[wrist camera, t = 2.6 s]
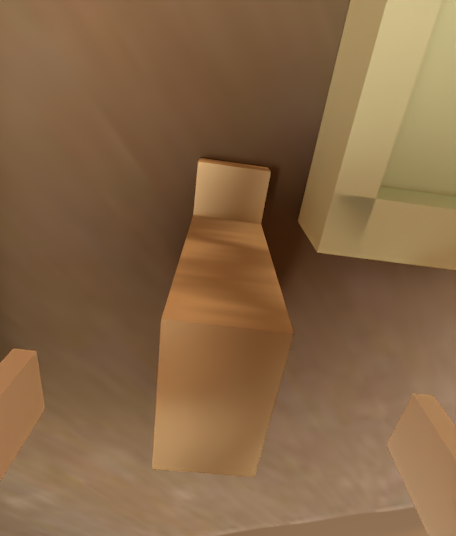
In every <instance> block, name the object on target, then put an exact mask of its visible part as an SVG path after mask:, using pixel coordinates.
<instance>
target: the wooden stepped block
mask: <svg viewBox="0 0 456 536" xmlns="http://www.w3.org/2000/svg"><path fill="white" fill-rule="evenodd" d="M270 174H271V171H270V170H269V169H268V167H261V166H254V165H247V164H240V163H233V162H226V161H219V160H212V159H205V158H200V159H199V161H198V169H197V179H196V190H195V201H194V211H193V217H192V220H191V223H190V227H189V230H188V233H187V236H186V240H185V243H184V246H183V250H182V253H181V256H180V259H179V263H178V266H177V269H176V272H175V276H174V279H173V282H172V285H171V289H170V292H169V295H168V298H167V302H166V305H165V308H164V311H163V315H162V318H161V330H160V347H159V363H158V380H157V397H156V413H155V430H154V447H153V464H152V469H162V470H174V471H186V472H199V473H211V474H223V475H236V476H248V477H255V473H256V469H257V466H258V462H259V459H260V455H261V451H262V448H263V444H264V440H265V437H266V433H267V430H268V426H269V422H270V419H271V415H272V411H273V408H274V404H275V401H276V397H277V393H278V390H279V386H280V383H281V379H282V375H283V372H284V368H285V364H286V361H287V357H288V354H289V350H290V346H291V343H292V339H293V335H294V332H293V328H292V325H291V322H290V319H289V315H288V312H287V309H286V305H285V302H284V299H283V295H282V292H281V289H280V285H279V282H278V279H277V275H276V272H275V269H274V265H273V262H272V259H271V255H270V252H269V249H268V245H267V242H266V239H265V235H264V232H263V229H262V225H261V221H262V216H263V211H264V205H265V200H266V195H267V190H268V184H269V179H270Z"/></svg>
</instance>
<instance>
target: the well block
mask: <svg viewBox="0 0 456 536" xmlns="http://www.w3.org/2000/svg"><path fill="white" fill-rule="evenodd" d="M298 223H299V224H300V226H301V228H302V229H303V231H304V232H305V234H306V236H307V237H308V239H309V240H310V242H311V244H312V245H313V247H314V248H315V250H316V251H317V253H324V254H332V255H340V256H348V257H356V258H363V259H371V260H379V261H387V262H395V263H403V264H411V265H419V266H426V267H434V268H442V269H450V270H456V0H350V4H349V9H348V13H347V17H346V21H345V25H344V29H343V34H342V38H341V42H340V46H339V50H338V55H337V59H336V63H335V67H334V71H333V76H332V80H331V84H330V88H329V92H328V97H327V101H326V105H325V109H324V113H323V117H322V122H321V126H320V130H319V134H318V138H317V143H316V147H315V151H314V155H313V159H312V164H311V168H310V172H309V176H308V180H307V184H306V189H305V193H304V197H303V201H302V205H301V210H300V214H299V218H298Z"/></svg>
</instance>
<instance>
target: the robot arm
mask: <svg viewBox="0 0 456 536" xmlns="http://www.w3.org/2000/svg"><path fill="white" fill-rule="evenodd" d="M44 410H45V406H44V399H43V392H42V385H41V378H40V371H39V364H38V357H37V351H33V350H24V349H15V348H13V349H12V350H11V351H10V353H9V354H8V355H7V356H6V357H5V358H4V359H3V360H2V361H1V362H0V481H1V479H2V478H3V476H4V474H5V473H6V471H7V469H8V468H9V466H10V465H11V463H12V461H13V460H14V458H15V457H16V455H17V453H18V452H19V450H20V449H21V447H22V445H23V444H24V442H25V441H26V439H27V437H28V436H29V434H30V433H31V431H32V429H33V428H34V426H35V424H36V423H37V421H38V420H39V418H40V416H41V415H42V413H43V412H44ZM386 445H387V447H388V449H389V451H390V454H391V456H392V458H393V460H394V462H395V464H396V467H397V469H398V471H399V473H400V475H401V477H402V480H403V482H404V484H405V486H406V488H407V490H408V493H409V495H410V497H411V499H412V501H413V503H414V506H415V508H416V510H417V512H418V514H419V516H420V519H421V521H422V523H423V525H424V527H425V529H426V532H427V534H428V536H456V427H455V425H454V424H453V422H452V421H451V420H450V418H449V417H448V415H447V414H446V413H445V411H444V410H443V408H442V407H441V405H440V404H439V403H438V401H437V400H436V398H435V397H434V396H432V395H423V394H415V393H413V394H412V396H411V398H410V400H409V402H408V404H407V406H406V408H405V410H404V412H403V414H402V415H401V417H400V419H399V421H398V423H397V425H396V427H395V429H394V431H393V433H392V435H391V437H390V439H389V441H388V443H387V444H386Z"/></svg>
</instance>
